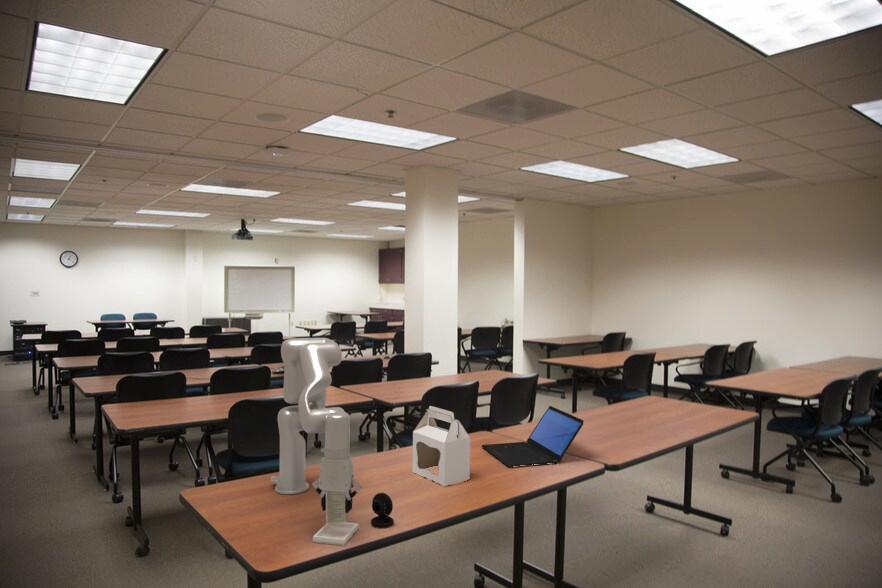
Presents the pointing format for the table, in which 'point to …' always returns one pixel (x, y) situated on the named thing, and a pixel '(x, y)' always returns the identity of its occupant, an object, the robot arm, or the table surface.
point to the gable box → (441, 448)
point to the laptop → (540, 441)
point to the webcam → (382, 510)
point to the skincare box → (335, 507)
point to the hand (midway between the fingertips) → (336, 509)
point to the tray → (335, 533)
